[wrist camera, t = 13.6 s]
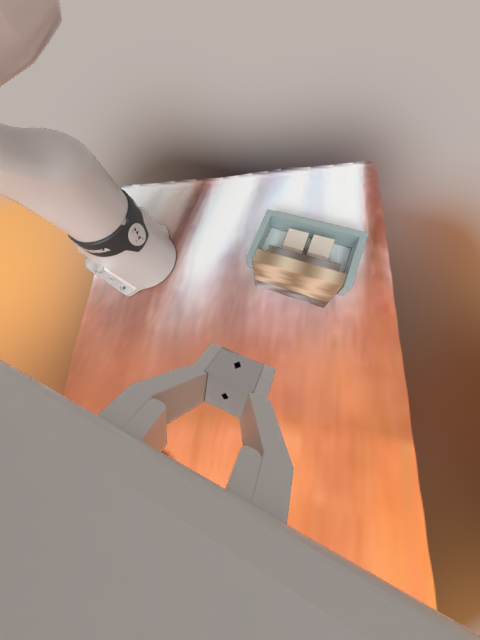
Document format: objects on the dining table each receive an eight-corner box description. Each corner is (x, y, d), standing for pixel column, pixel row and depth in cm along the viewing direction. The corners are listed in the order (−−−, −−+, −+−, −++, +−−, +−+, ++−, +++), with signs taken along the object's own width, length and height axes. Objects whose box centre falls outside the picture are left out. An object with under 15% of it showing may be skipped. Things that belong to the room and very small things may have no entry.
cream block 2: (303, 263, 40) (307, 251, 37) (309, 247, 41) (314, 234, 37) (322, 268, 40) (328, 257, 36) (328, 252, 40) (335, 239, 37)
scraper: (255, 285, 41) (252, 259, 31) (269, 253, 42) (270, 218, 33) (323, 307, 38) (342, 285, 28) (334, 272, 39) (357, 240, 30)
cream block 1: (280, 256, 42) (282, 244, 38) (287, 241, 42) (289, 228, 38) (299, 261, 41) (302, 250, 37) (305, 246, 41) (309, 233, 38)
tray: (247, 266, 42) (246, 257, 38) (267, 221, 44) (267, 209, 41) (343, 296, 38) (351, 288, 34) (359, 244, 40) (368, 232, 36)
